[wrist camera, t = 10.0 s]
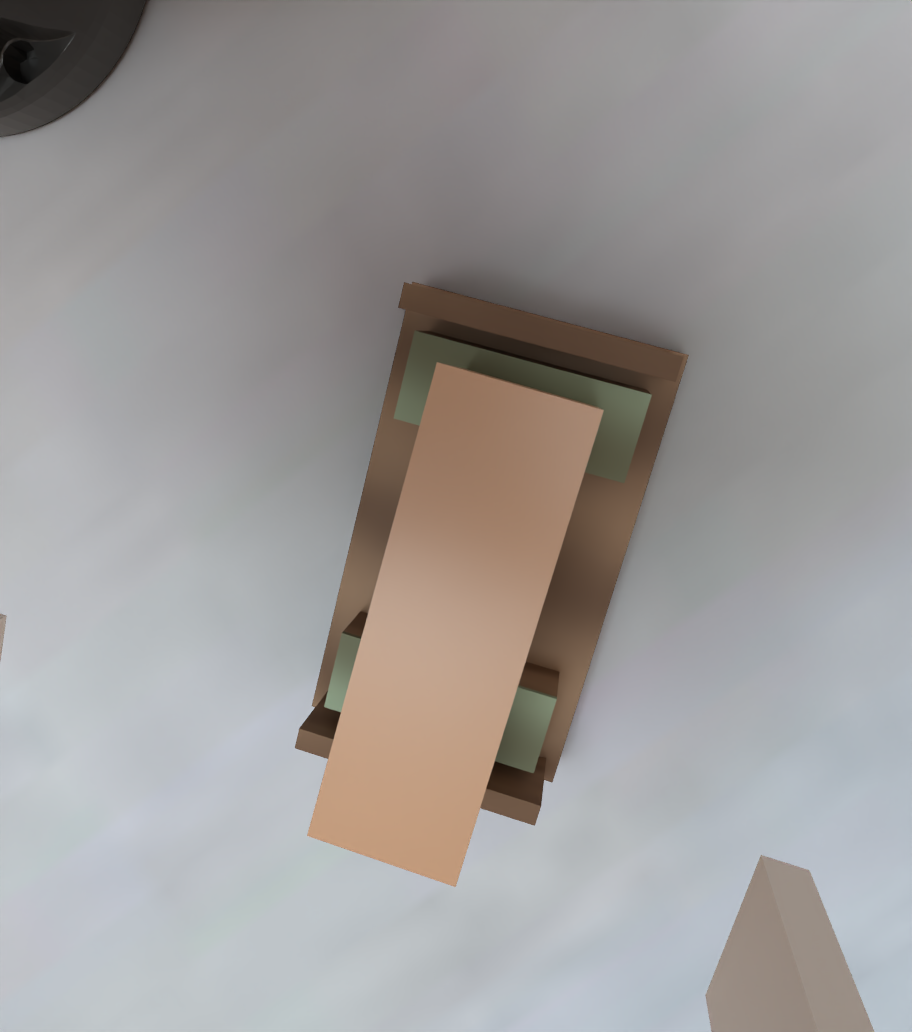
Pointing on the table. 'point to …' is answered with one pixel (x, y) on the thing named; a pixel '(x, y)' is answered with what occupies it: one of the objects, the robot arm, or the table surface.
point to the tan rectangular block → (452, 619)
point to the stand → (590, 533)
